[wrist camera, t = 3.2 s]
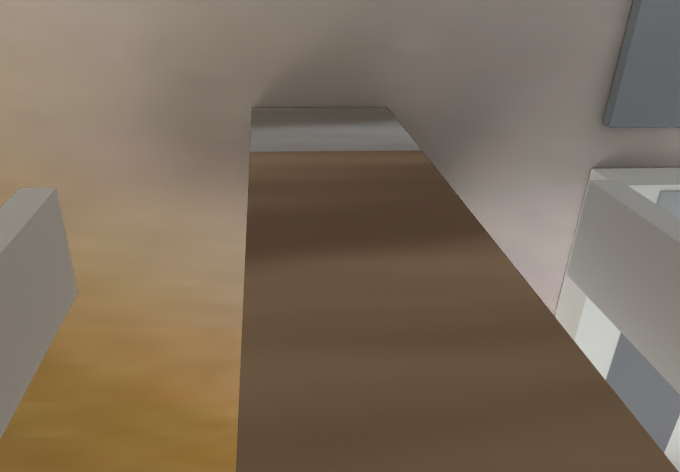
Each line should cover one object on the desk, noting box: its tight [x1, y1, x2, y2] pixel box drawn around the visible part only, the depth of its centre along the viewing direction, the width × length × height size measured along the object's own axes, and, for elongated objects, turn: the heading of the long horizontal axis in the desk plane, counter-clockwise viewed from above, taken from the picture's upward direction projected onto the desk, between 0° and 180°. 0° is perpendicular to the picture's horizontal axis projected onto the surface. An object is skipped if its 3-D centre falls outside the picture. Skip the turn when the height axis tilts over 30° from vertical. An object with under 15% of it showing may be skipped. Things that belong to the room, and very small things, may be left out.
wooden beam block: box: [236, 107, 679, 472], centre depth 11 cm, size 4×4×14 cm
